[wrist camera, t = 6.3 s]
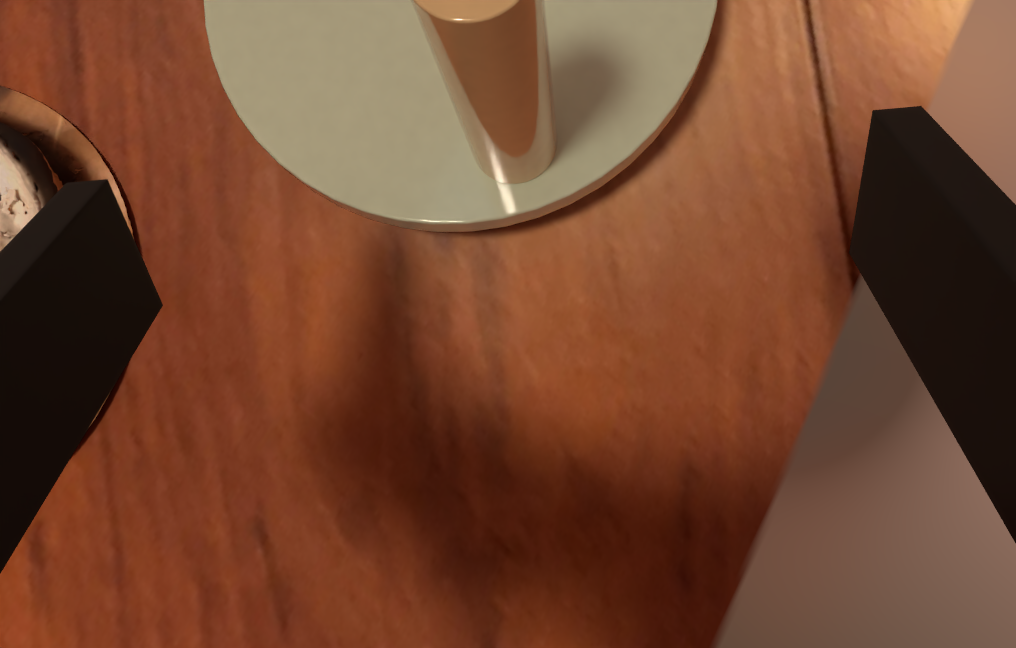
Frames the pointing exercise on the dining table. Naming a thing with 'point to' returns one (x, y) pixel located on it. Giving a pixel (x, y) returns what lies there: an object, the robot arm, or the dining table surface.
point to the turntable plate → (406, 118)
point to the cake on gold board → (40, 161)
